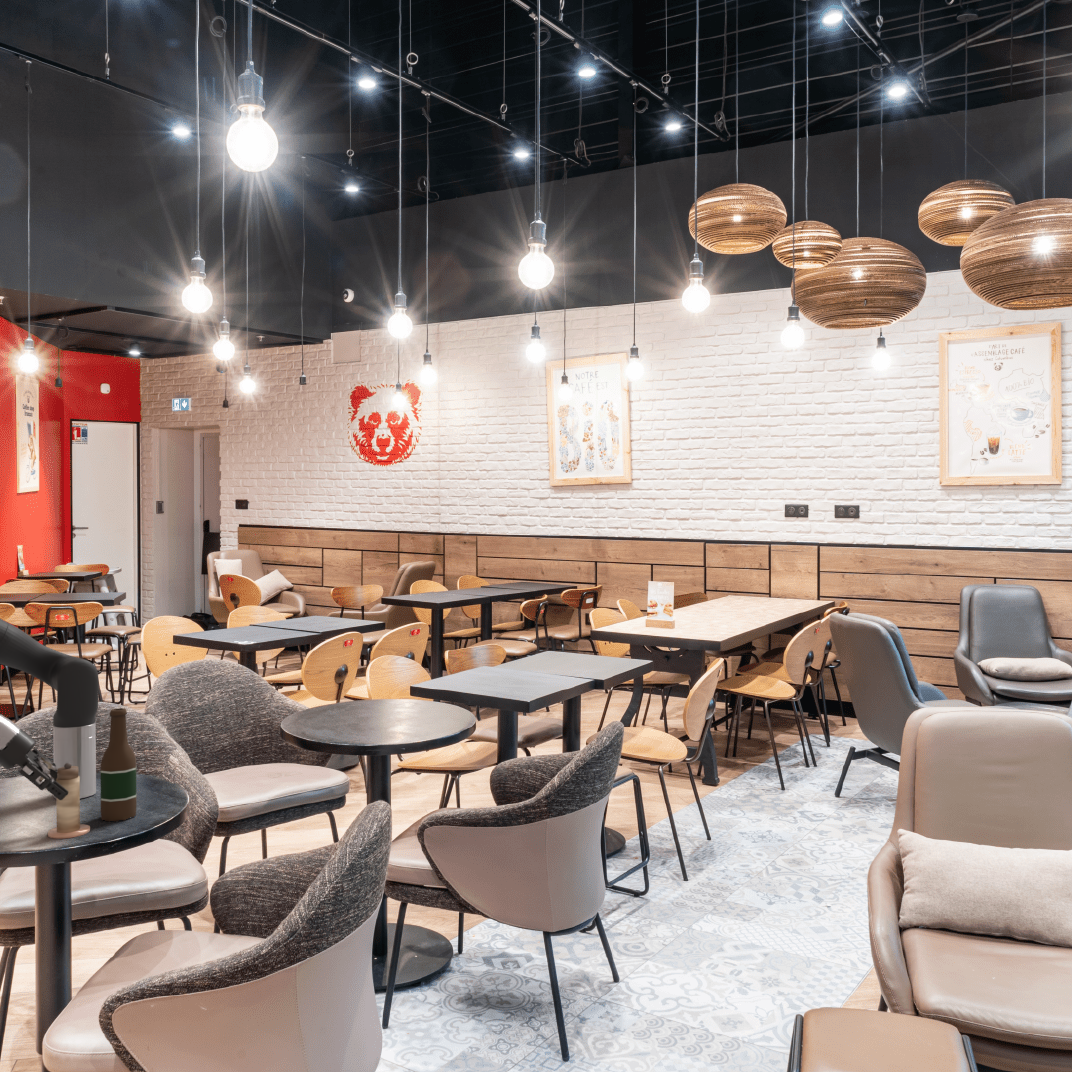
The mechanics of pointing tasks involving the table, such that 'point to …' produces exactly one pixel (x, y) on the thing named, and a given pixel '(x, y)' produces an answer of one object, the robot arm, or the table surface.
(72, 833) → the saucer
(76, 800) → the pepper mill
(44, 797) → the table surface
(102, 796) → the beer bottle
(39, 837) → the table surface
